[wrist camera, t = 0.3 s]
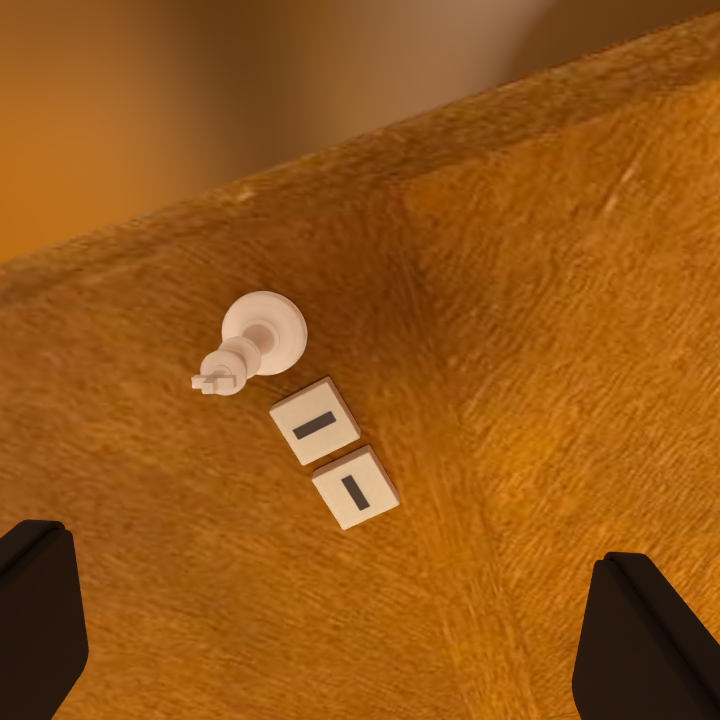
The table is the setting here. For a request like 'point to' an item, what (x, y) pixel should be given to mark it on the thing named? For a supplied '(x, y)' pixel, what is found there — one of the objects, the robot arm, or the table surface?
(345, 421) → the cream flat block
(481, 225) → the table surface
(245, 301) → the chess piece
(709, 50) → the table surface
